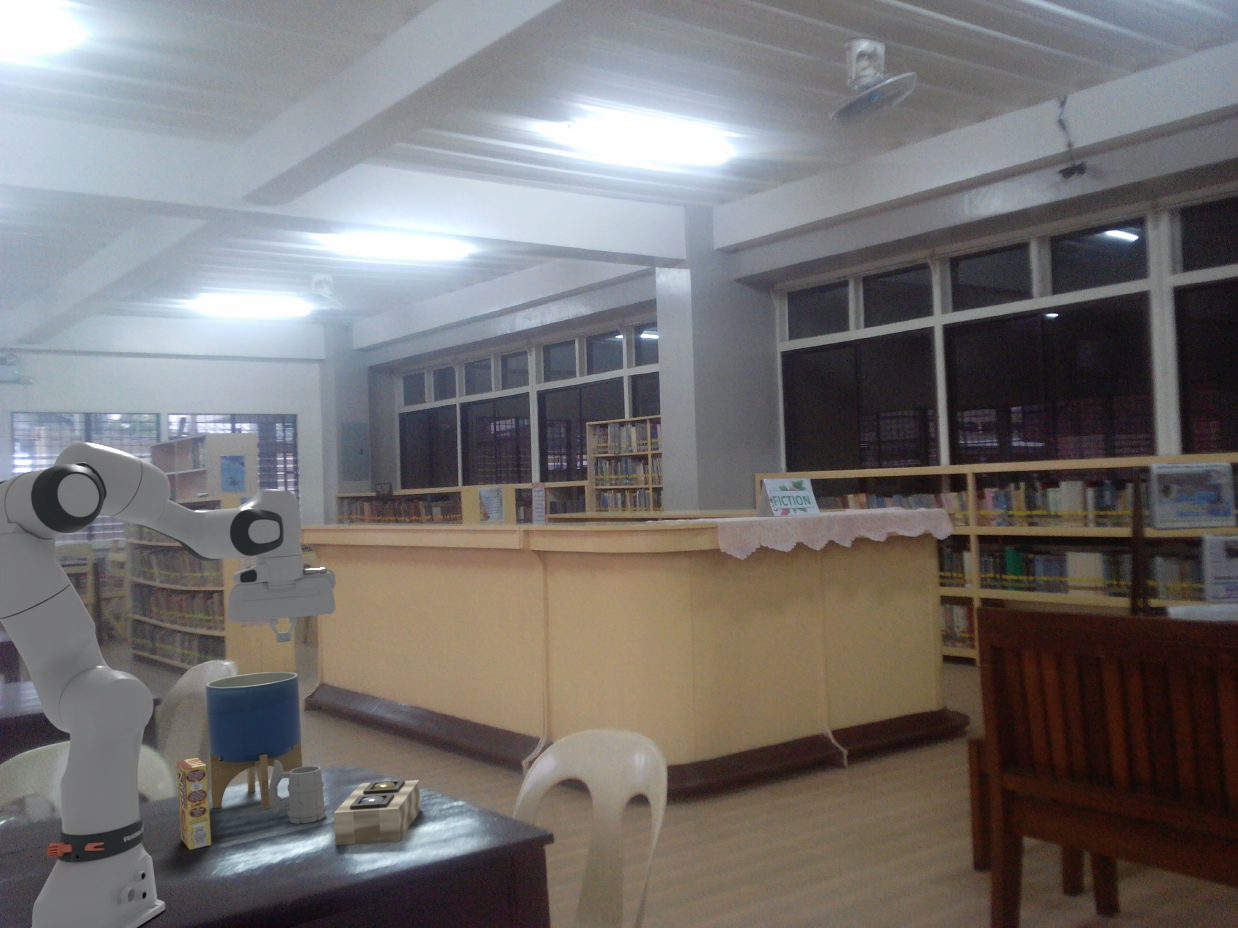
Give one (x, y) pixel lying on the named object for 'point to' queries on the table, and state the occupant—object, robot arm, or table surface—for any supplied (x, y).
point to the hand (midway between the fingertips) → (284, 641)
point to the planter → (252, 729)
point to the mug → (299, 793)
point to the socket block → (377, 813)
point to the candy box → (194, 803)
